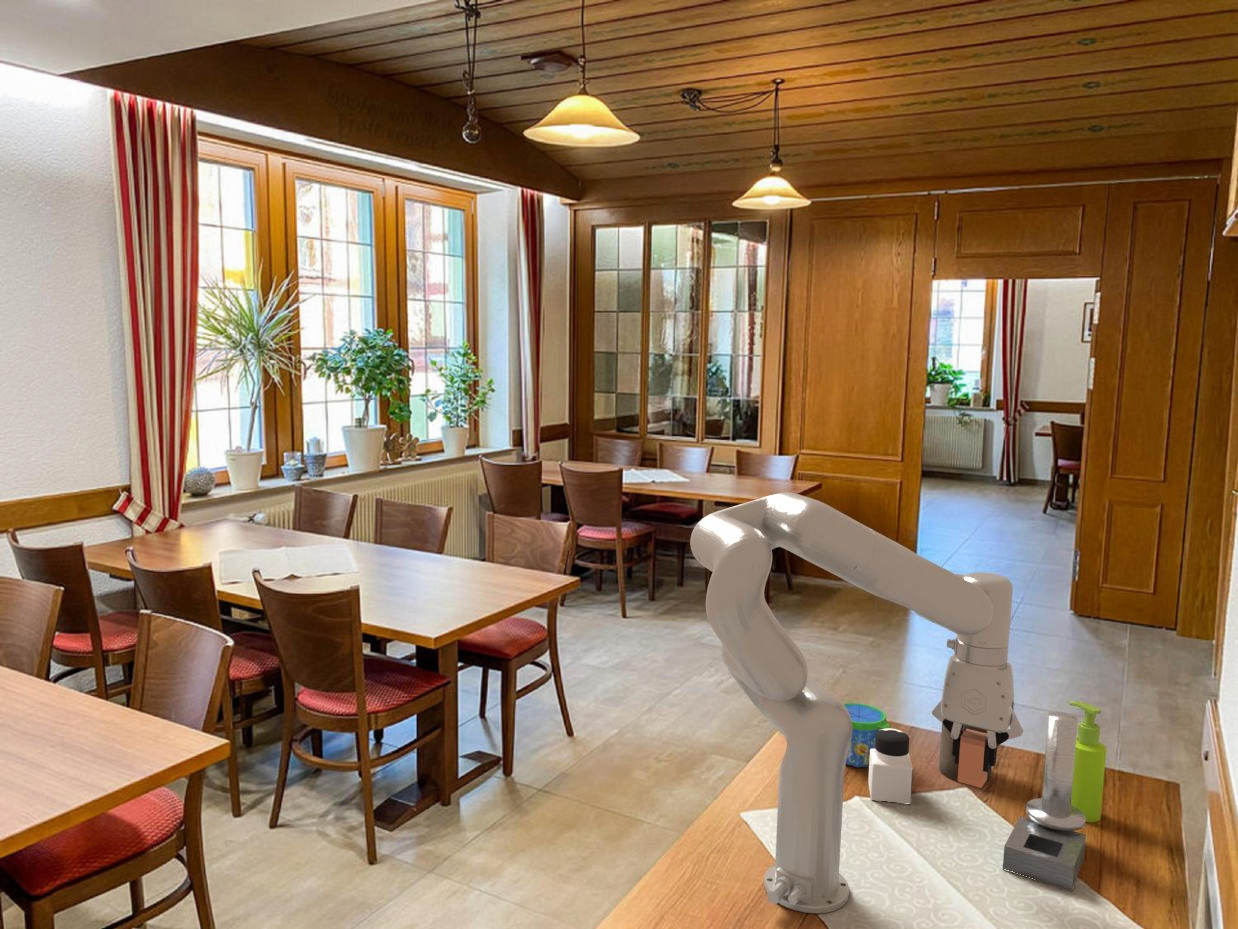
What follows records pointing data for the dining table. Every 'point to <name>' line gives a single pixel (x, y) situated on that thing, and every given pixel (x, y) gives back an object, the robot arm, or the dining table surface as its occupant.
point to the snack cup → (864, 732)
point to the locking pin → (972, 758)
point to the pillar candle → (946, 758)
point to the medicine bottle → (890, 767)
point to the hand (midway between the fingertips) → (973, 764)
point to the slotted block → (1051, 816)
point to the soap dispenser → (1088, 765)
